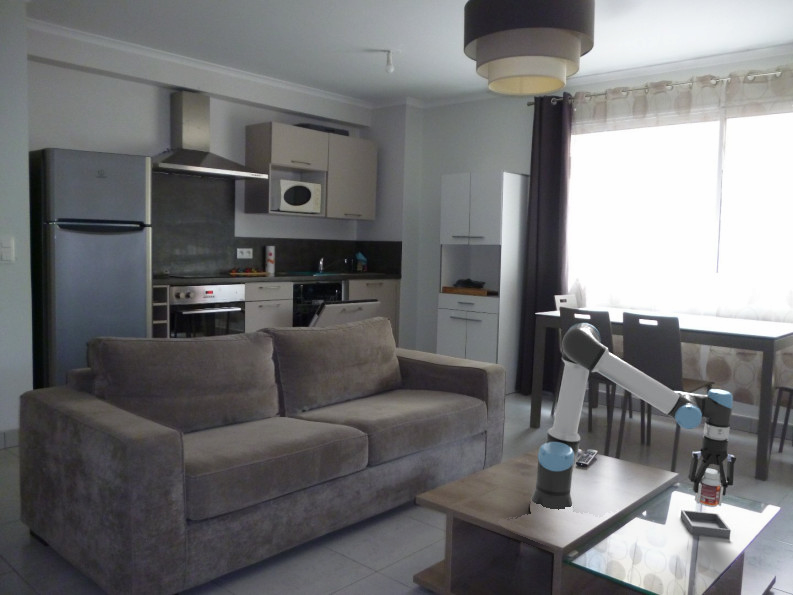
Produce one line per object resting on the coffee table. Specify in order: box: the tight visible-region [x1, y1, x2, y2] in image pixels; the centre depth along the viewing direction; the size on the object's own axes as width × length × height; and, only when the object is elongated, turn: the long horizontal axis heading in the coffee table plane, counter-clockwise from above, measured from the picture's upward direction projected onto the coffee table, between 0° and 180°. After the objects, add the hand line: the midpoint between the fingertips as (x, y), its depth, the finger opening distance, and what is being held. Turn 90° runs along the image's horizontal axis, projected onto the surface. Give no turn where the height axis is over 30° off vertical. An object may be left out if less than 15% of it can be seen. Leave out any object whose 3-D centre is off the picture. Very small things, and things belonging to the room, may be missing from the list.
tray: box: [679, 509, 732, 540], centre depth 221 cm, size 12×12×3 cm
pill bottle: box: [700, 467, 721, 508], centre depth 219 cm, size 6×6×11 cm
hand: (707, 502), depth 220 cm, fingers closed on pill bottle, 6 cm apart
